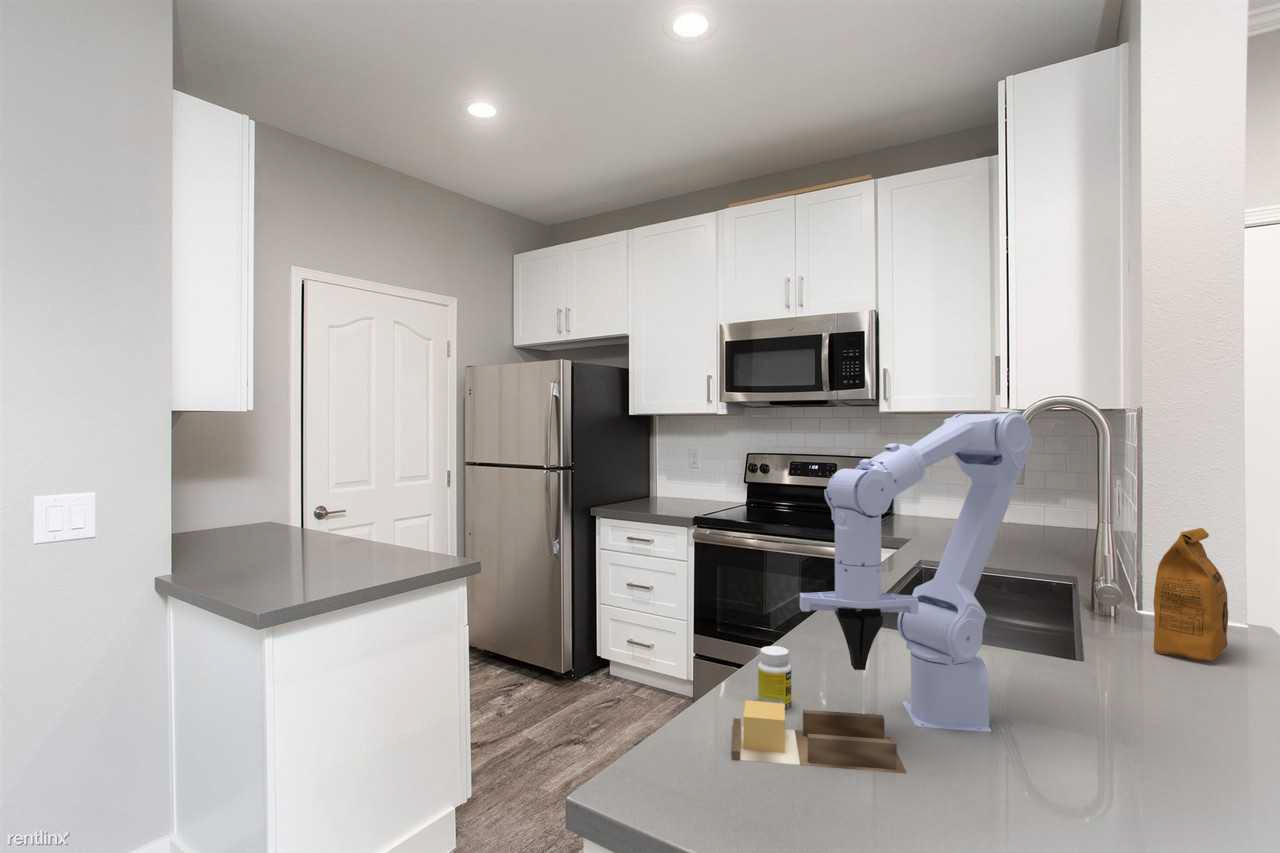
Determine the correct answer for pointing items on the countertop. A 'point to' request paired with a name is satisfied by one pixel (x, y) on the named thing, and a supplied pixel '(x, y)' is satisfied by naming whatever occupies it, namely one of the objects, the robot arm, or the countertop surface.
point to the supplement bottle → (774, 676)
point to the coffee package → (1190, 601)
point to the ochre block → (764, 726)
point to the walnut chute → (830, 743)
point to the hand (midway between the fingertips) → (858, 667)
